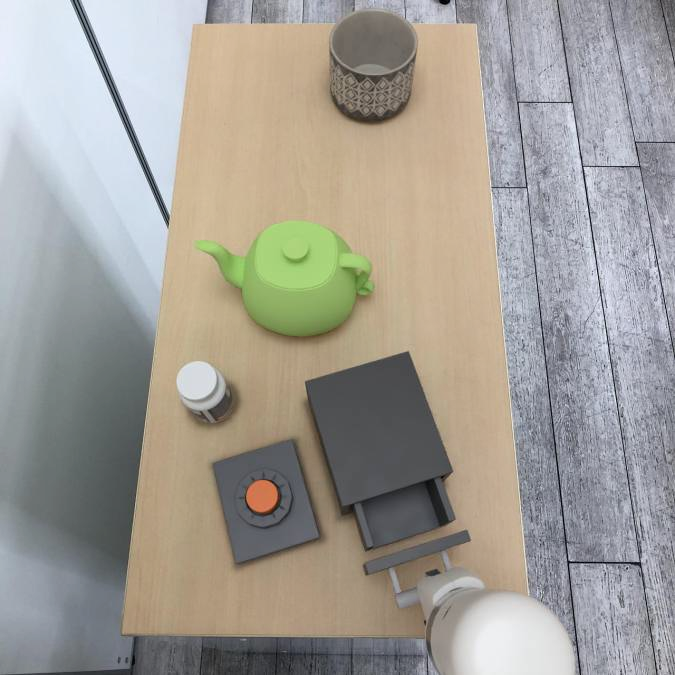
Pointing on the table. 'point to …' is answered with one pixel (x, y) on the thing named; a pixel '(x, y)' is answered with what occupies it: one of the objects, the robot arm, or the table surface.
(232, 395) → the pill bottle
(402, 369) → the drawer cabinet casing
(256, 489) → the button
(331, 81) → the planter
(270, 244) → the teapot
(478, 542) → the table surface
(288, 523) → the control pad
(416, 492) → the drawer with pull handle
